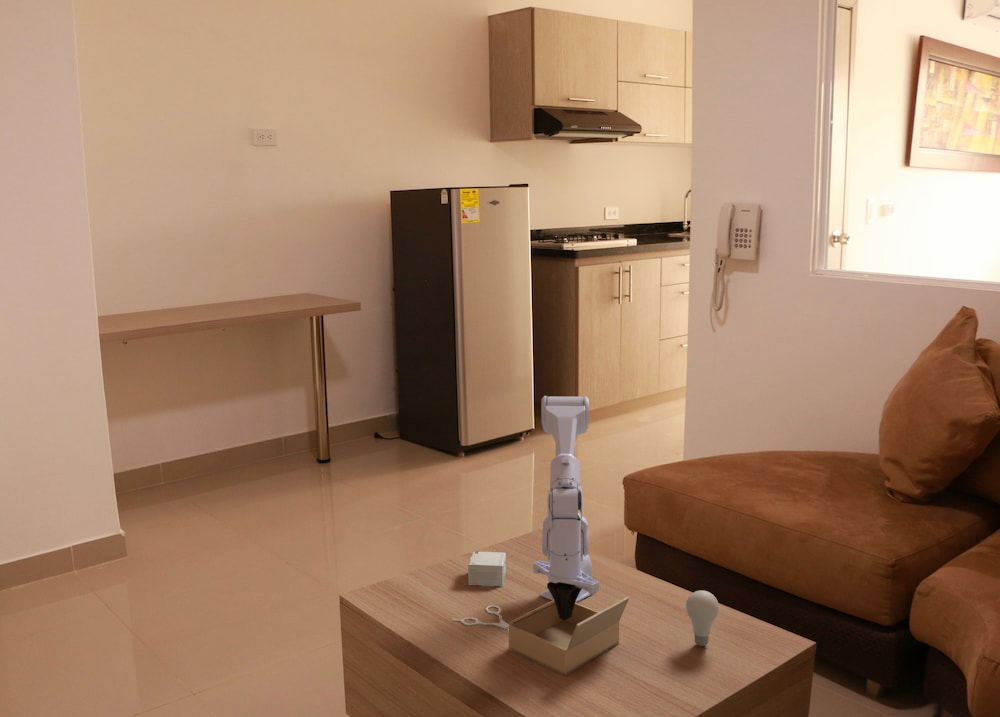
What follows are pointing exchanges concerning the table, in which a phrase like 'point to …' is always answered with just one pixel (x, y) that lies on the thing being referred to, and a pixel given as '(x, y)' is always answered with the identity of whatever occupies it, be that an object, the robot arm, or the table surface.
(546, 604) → the flap
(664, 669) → the table surface
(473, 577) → the small box
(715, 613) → the lightbulb
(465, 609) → the table surface
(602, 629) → the flap
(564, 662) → the carton
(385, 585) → the table surface
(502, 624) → the scissors
